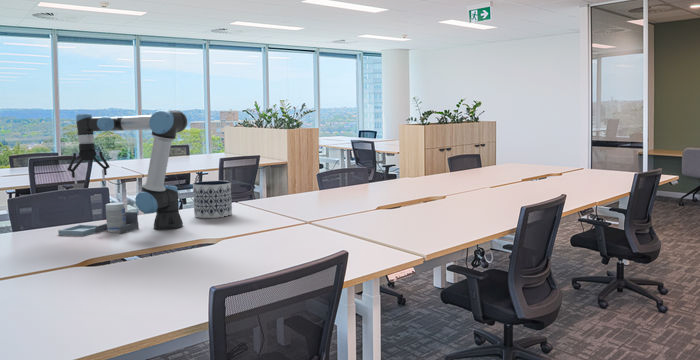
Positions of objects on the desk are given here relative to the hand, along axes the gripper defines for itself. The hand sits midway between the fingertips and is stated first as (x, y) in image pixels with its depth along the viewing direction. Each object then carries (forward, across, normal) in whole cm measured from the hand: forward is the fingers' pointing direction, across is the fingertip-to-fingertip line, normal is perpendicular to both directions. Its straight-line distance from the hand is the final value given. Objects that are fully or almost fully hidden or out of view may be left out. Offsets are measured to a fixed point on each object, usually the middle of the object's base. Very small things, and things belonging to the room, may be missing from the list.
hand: (90, 182), depth 286 cm
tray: (+26, +7, +4) cm, 27 cm away
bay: (+26, -10, +11) cm, 30 cm away
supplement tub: (+26, -10, +11) cm, 30 cm away
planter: (+27, -67, -3) cm, 72 cm away
